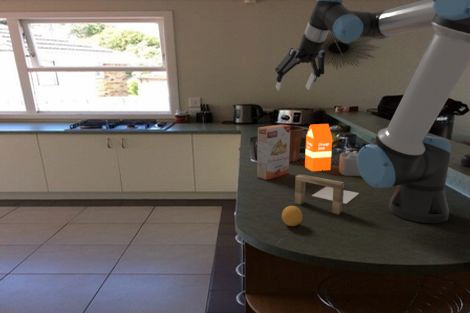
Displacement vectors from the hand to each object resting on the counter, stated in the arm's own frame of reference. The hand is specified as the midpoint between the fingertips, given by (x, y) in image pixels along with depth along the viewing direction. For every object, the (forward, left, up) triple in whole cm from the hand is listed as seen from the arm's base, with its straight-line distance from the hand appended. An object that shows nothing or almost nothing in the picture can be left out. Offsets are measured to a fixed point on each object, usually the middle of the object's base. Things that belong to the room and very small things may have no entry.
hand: (292, 88), depth 123 cm
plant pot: (+16, -25, -36) cm, 47 cm away
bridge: (-24, +24, -36) cm, 49 cm away
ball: (-24, +40, -33) cm, 57 cm away
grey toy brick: (-18, -22, -36) cm, 46 cm away
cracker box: (+6, +4, -36) cm, 36 cm away
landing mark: (-24, +10, -36) cm, 44 cm away
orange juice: (-4, -18, -36) cm, 40 cm away
